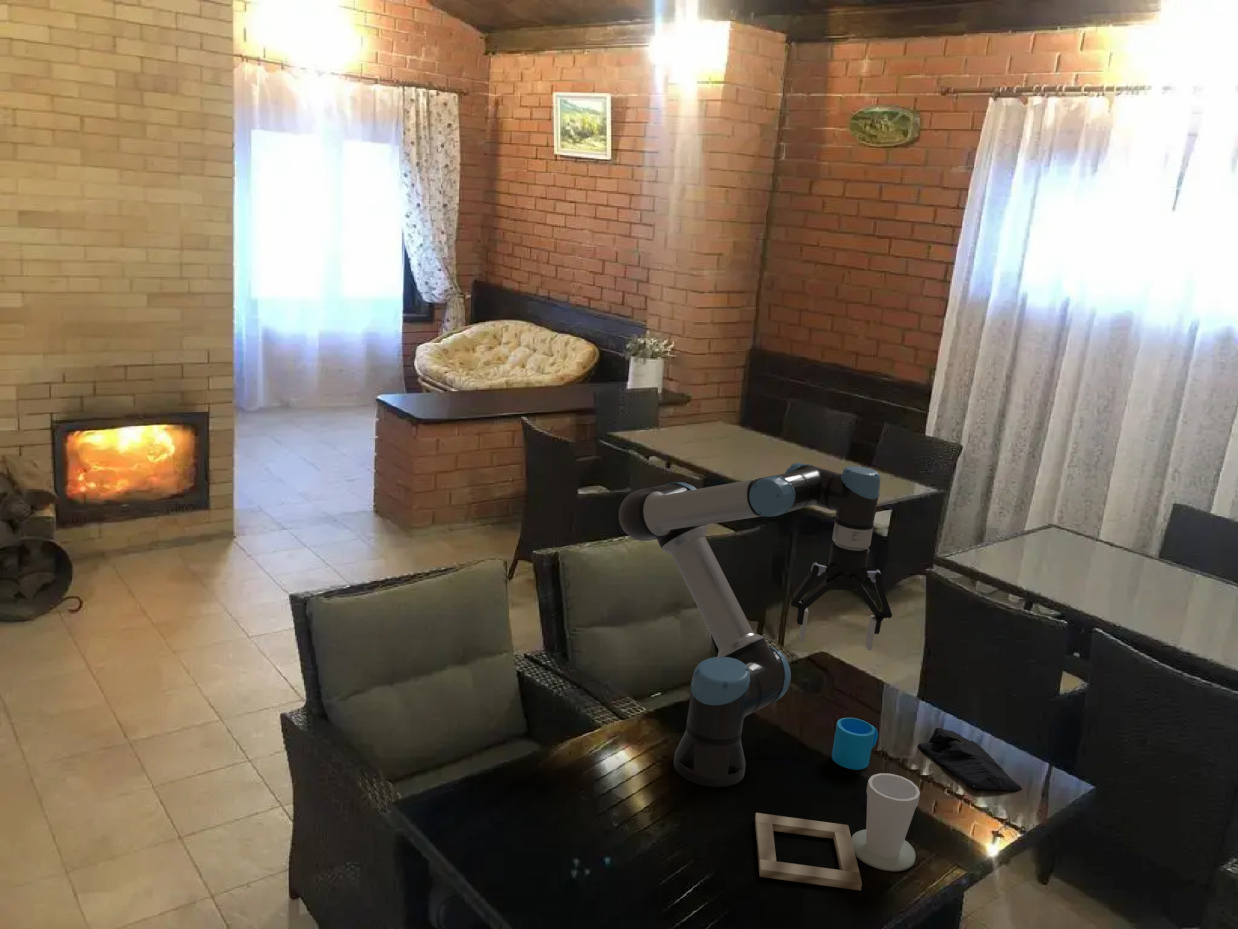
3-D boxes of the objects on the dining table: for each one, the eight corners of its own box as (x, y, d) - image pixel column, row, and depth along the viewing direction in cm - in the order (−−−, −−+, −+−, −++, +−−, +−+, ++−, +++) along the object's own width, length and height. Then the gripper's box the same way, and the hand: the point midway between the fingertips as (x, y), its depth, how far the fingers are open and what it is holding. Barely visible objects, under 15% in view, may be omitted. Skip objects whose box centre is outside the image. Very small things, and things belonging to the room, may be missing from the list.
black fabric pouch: (965, 797, 218) (969, 777, 217) (912, 744, 239) (916, 725, 237) (1027, 794, 222) (1031, 774, 221) (970, 742, 242) (974, 724, 241)
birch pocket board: (759, 876, 184) (760, 869, 183) (754, 819, 201) (755, 812, 201) (860, 890, 183) (861, 883, 182) (847, 832, 200) (848, 825, 200)
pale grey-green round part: (855, 866, 189) (855, 862, 189) (846, 829, 201) (847, 825, 201) (920, 875, 189) (921, 871, 189) (908, 837, 200) (908, 833, 200)
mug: (851, 773, 222) (857, 739, 220) (823, 755, 229) (829, 722, 227) (888, 760, 229) (893, 727, 227) (860, 743, 236) (865, 711, 234)
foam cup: (909, 841, 198) (921, 781, 194) (907, 868, 189) (918, 806, 186) (860, 828, 200) (870, 768, 197) (855, 854, 192) (865, 792, 189)
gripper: (789, 543, 201) (774, 643, 206) (917, 558, 200) (899, 658, 205) (786, 531, 208) (772, 628, 214) (910, 546, 207) (893, 643, 212)
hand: (834, 643), depth 209 cm, fingers open, 13 cm apart
